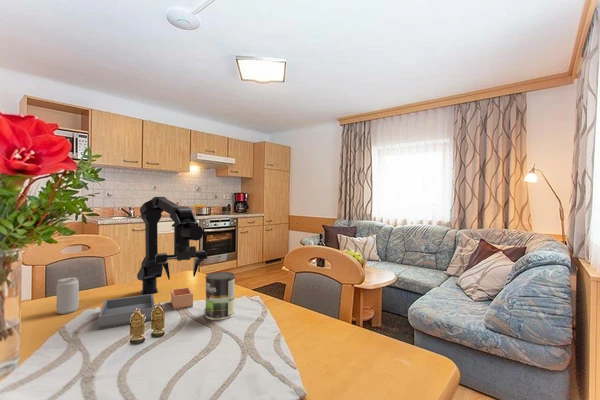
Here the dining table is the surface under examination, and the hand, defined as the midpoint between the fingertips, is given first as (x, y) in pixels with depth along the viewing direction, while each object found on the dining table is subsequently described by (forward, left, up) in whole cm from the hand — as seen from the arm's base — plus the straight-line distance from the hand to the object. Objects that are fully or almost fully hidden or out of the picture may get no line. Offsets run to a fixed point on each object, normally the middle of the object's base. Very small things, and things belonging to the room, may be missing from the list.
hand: (181, 278), depth 114 cm
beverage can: (-12, -38, -11) cm, 41 cm away
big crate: (+3, -18, -10) cm, 21 cm away
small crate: (0, 0, -10) cm, 10 cm away
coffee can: (+18, +11, -11) cm, 24 cm away
